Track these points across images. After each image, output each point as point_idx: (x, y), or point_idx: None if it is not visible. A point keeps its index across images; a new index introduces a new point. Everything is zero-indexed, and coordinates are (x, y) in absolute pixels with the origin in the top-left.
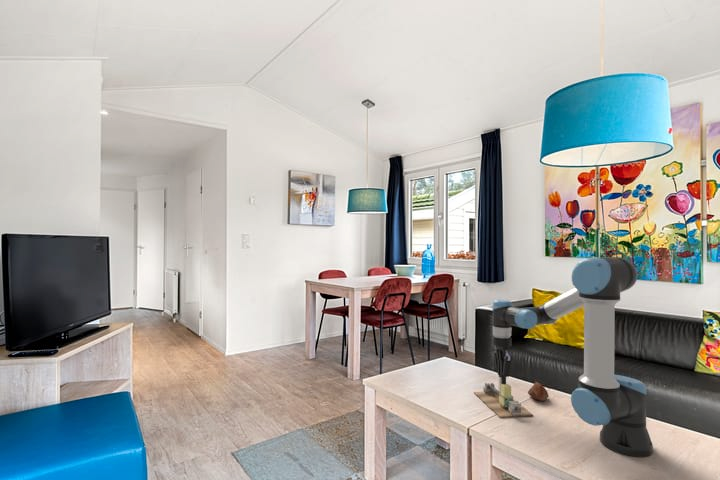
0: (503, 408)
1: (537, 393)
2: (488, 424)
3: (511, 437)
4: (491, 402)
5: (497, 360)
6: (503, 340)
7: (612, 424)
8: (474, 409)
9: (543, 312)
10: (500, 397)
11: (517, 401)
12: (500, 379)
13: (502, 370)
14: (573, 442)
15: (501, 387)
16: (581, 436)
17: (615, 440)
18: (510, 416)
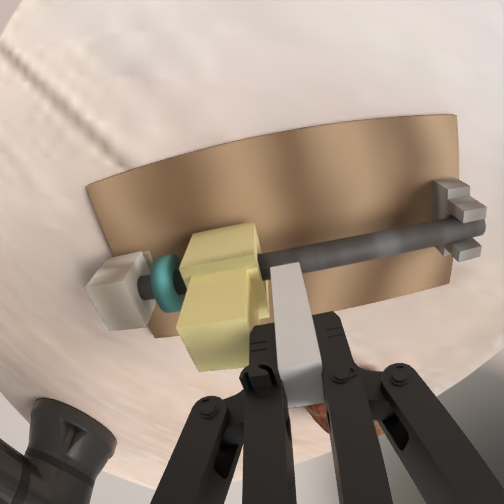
0: (200, 229)
1: (310, 413)
2: (21, 122)
3: None
4: (291, 176)
5: (444, 498)
6: None
7: (33, 444)
8: (184, 47)
9: None
10: (231, 246)
11: (135, 325)
12: (277, 347)
13: (246, 457)
14: (28, 357)
15: (235, 300)
16: (69, 387)
17: (31, 417)
18: (109, 241)
